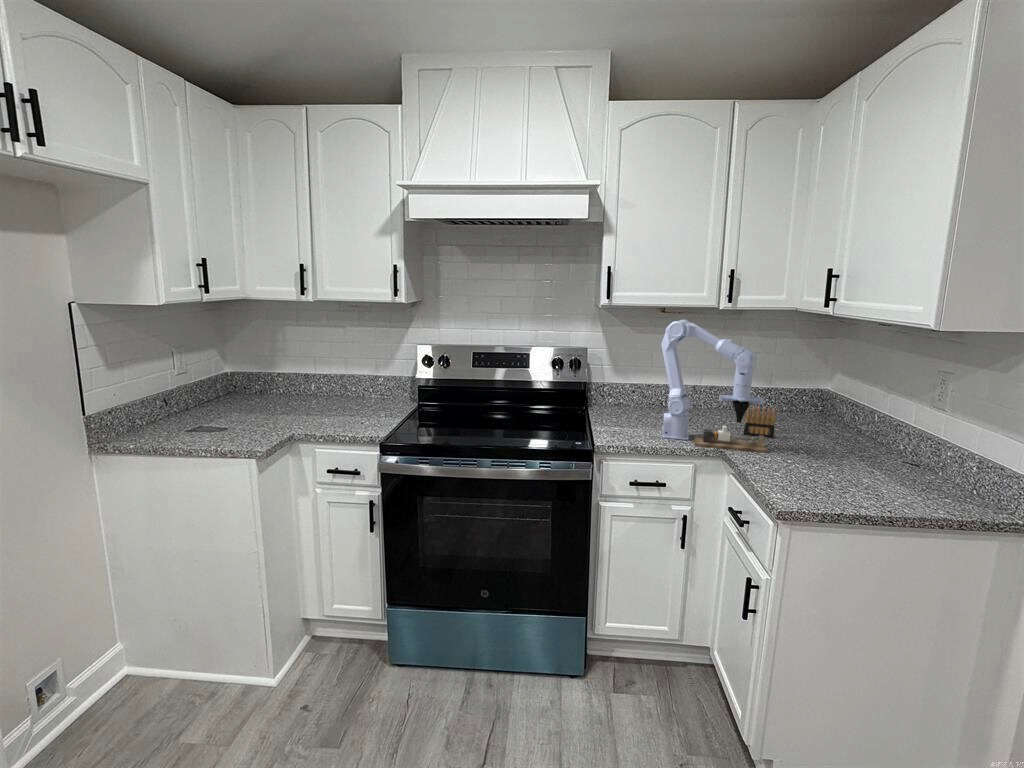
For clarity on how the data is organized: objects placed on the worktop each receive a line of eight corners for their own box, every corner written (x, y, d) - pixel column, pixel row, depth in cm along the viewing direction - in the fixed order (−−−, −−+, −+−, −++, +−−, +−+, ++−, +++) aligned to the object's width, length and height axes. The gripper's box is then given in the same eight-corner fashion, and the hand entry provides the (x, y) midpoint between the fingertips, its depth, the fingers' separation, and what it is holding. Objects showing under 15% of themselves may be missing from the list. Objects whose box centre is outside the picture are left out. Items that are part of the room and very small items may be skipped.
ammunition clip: (773, 437, 212) (776, 406, 210) (773, 438, 210) (777, 407, 208) (743, 434, 216) (746, 404, 213) (743, 435, 214) (746, 405, 212)
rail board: (694, 446, 199) (695, 432, 198) (694, 439, 208) (695, 426, 207) (767, 453, 193) (768, 438, 192) (763, 445, 201) (764, 432, 200)
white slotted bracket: (718, 439, 199) (719, 427, 198) (717, 437, 202) (718, 424, 202) (729, 440, 198) (731, 428, 197) (729, 438, 201) (730, 425, 200)
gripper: (721, 385, 193) (718, 422, 196) (766, 388, 189) (762, 426, 192) (720, 381, 200) (716, 417, 203) (763, 384, 196) (759, 421, 199)
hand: (738, 421), depth 198 cm, fingers closed
